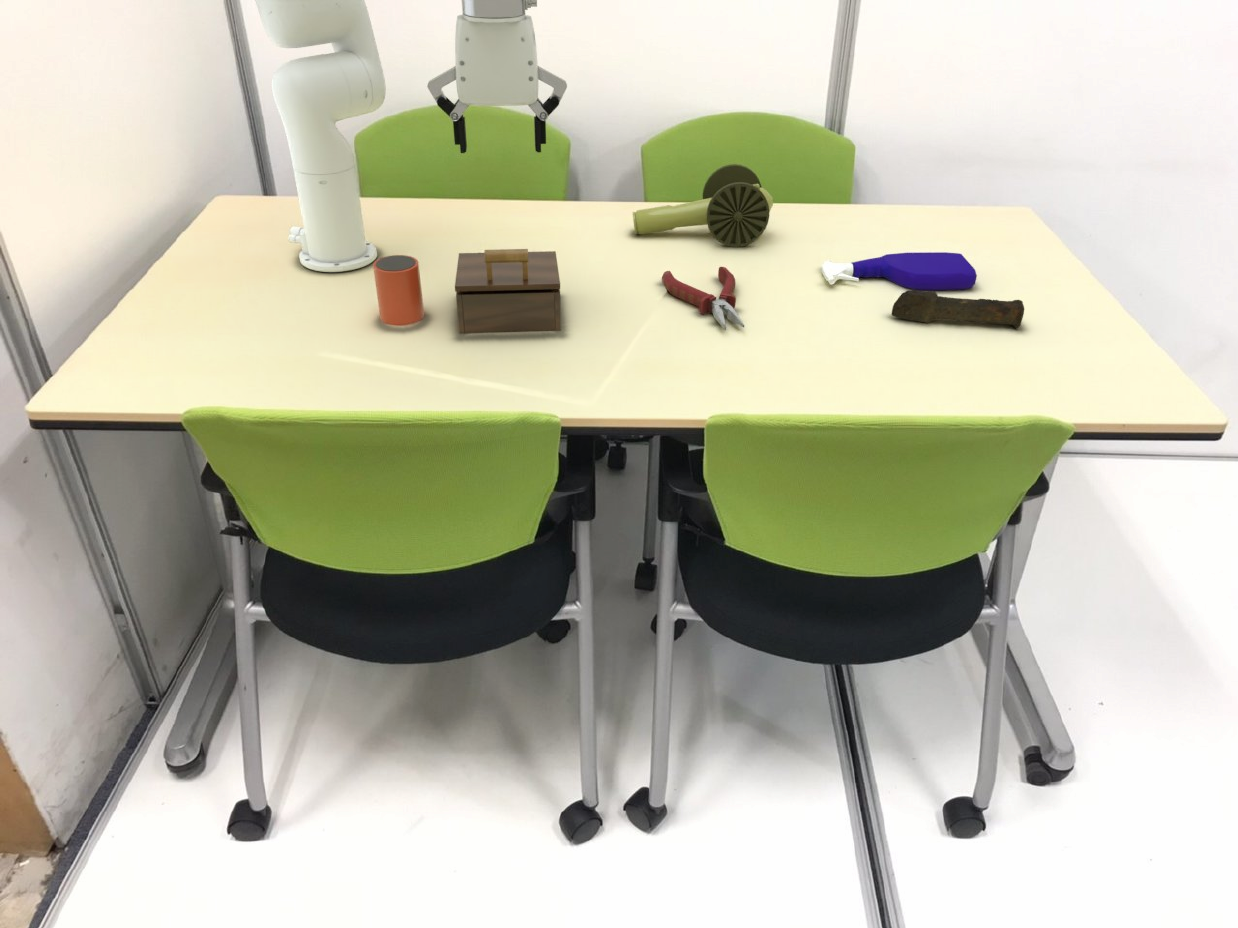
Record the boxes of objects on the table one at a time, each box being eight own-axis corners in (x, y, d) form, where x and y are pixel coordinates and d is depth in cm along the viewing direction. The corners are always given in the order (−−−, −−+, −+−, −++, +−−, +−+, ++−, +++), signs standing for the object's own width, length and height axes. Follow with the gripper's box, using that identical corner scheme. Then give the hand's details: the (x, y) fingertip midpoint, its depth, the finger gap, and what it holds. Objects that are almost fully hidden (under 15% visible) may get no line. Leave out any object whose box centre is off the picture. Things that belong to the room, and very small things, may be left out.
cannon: (632, 246, 164) (634, 182, 158) (631, 222, 174) (633, 161, 167) (773, 249, 164) (780, 185, 158) (764, 225, 174) (771, 164, 168)
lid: (560, 289, 130) (559, 253, 128) (455, 291, 129) (452, 256, 126) (555, 256, 142) (555, 223, 139) (459, 258, 141) (456, 225, 138)
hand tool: (1014, 320, 143) (1022, 292, 140) (1020, 331, 139) (1028, 303, 137) (889, 311, 145) (894, 283, 142) (891, 322, 141) (897, 293, 139)
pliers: (697, 338, 135) (698, 322, 134) (659, 283, 151) (659, 268, 150) (770, 331, 138) (772, 315, 136) (725, 278, 154) (727, 263, 152)
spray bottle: (960, 249, 158) (817, 250, 157) (983, 275, 149) (831, 276, 148) (956, 266, 160) (814, 267, 159) (978, 292, 151) (828, 294, 150)
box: (560, 335, 135) (560, 292, 131) (459, 338, 134) (455, 294, 130) (556, 297, 146) (555, 256, 142) (462, 299, 144) (459, 258, 141)
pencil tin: (372, 326, 136) (364, 268, 131) (394, 308, 141) (387, 252, 136) (411, 333, 135) (404, 274, 130) (432, 315, 140) (426, 258, 135)
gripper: (564, 0, 115) (565, 141, 125) (422, -1, 113) (435, 142, 123) (567, 10, 109) (569, 158, 119) (417, 10, 107) (431, 159, 117)
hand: (501, 150), depth 121 cm, fingers open, 9 cm apart
